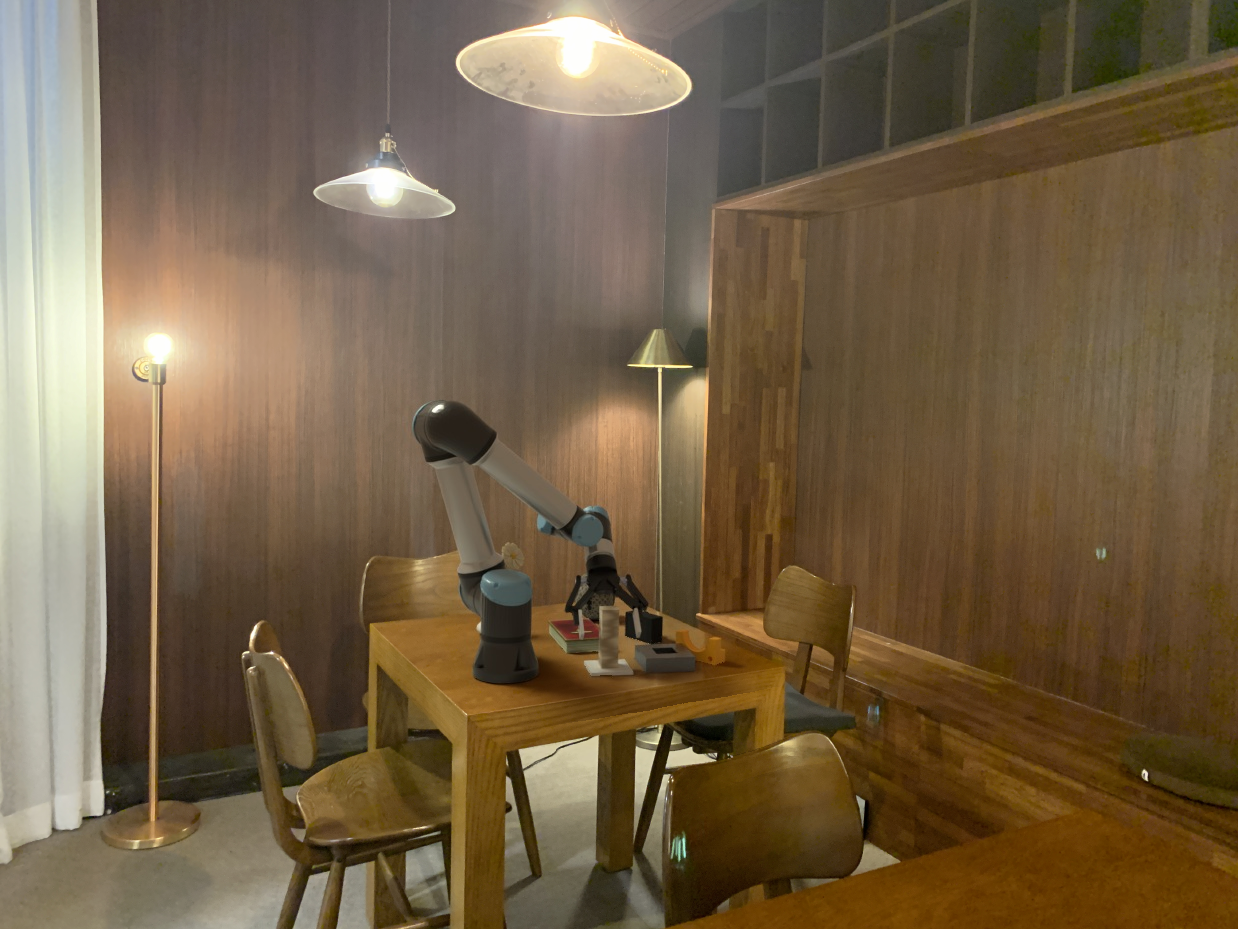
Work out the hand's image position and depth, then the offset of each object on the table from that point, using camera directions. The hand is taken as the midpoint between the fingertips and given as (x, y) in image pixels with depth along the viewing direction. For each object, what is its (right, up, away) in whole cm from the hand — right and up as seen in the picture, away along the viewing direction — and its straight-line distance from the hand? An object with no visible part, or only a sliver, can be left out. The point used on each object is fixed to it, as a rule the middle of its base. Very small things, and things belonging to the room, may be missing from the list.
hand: (610, 635), depth 210 cm
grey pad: (-1, -9, +3) cm, 9 cm away
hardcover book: (-9, -7, +27) cm, 29 cm away
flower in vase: (-30, -6, +33) cm, 45 cm away
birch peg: (-1, -8, +3) cm, 8 cm away
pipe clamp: (+22, -9, +13) cm, 27 cm away
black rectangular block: (+9, -7, +31) cm, 33 cm away
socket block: (+13, -8, +7) cm, 17 cm away
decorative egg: (-5, -5, +52) cm, 52 cm away
